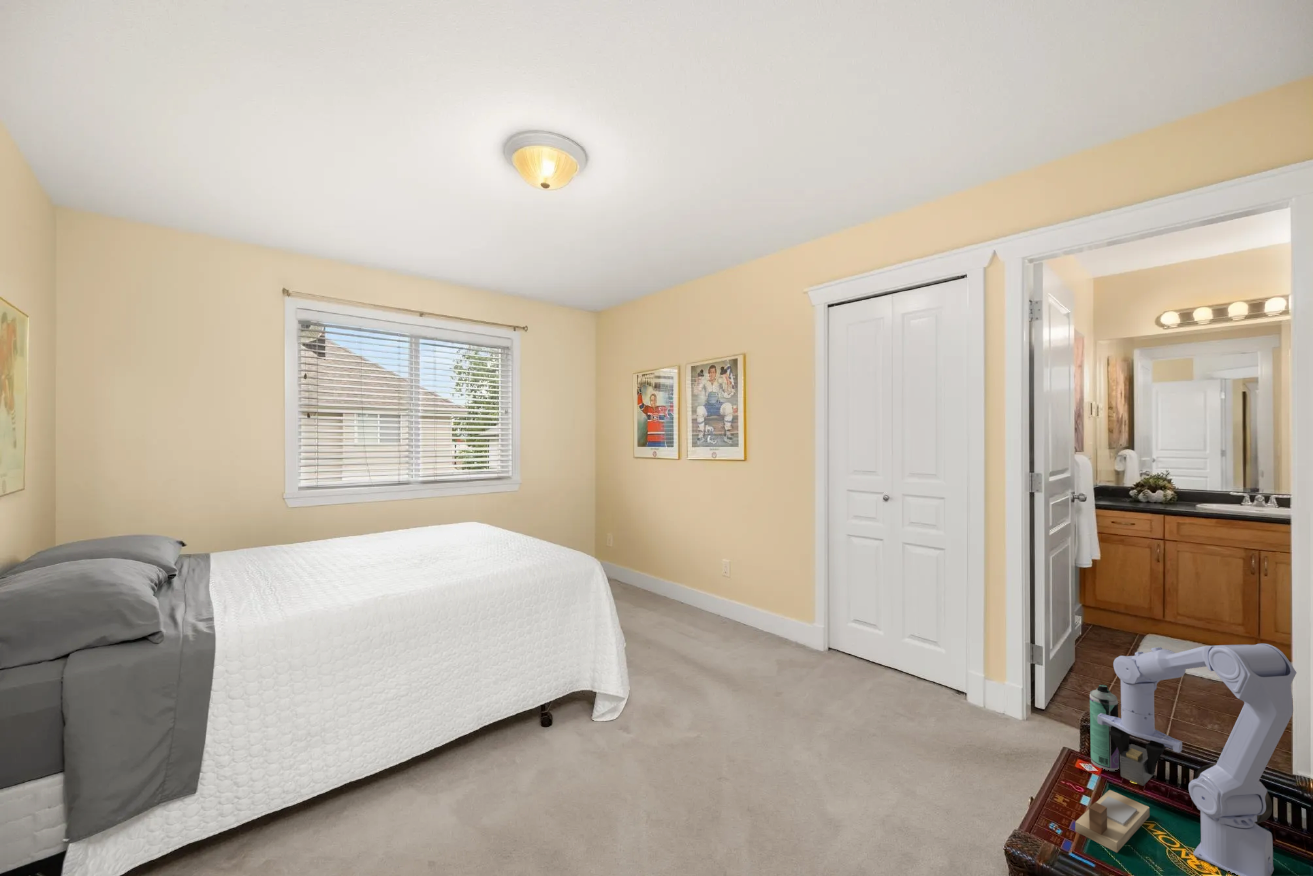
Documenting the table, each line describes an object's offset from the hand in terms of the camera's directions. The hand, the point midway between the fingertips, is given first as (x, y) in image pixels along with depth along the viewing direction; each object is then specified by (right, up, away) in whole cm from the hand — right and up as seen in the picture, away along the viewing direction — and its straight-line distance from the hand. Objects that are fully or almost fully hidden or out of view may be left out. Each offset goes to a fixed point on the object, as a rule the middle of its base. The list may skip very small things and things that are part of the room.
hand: (1138, 767), depth 124 cm
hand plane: (-13, -7, -8) cm, 16 cm away
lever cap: (0, -2, 0) cm, 2 cm away
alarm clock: (+13, -7, -9) cm, 17 cm away
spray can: (+2, -7, +12) cm, 14 cm away
